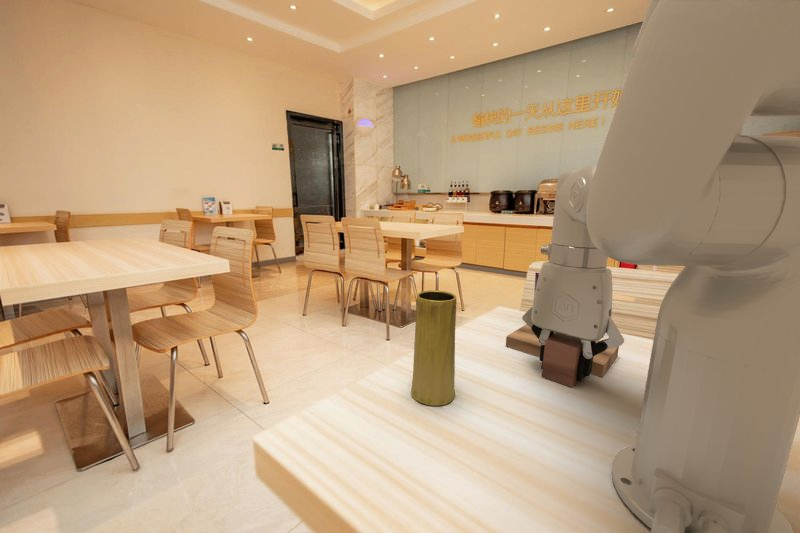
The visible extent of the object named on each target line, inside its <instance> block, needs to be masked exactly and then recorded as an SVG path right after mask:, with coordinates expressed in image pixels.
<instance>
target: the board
mask: <svg viewBox="0 0 800 533" xmlns="http://www.w3.org/2000/svg"><path fill="white" fill-rule="evenodd" d="M555 333H556V332H555ZM599 341H600V340H598V341H597V342H599ZM506 346H508V347H507V348H509V347H510V348H509V349H512V348H513V349H512V350H515V349H516V351H519V352H521V353H522V352H523V353H525V354H528V355H532V356H535V357H537V358H540V349H541V344H540V343H539V342H538V338H537V336H536V335H535V334H534V332H533V331H532V329H531V327H529V326H528V325H527V324H526V323H525V324H524V325H523V326H521V327H519V328H517V329H516V330H514V331H513V332H510V334H508V335H506V339H505V347H506ZM619 348H620V346H618V347H615V348H611V349H607V350H605V351H603V352H601V353H599V354H597V355H595V356H594V357H593V364H592V371H591V375H594V376H597V377H600V378H603V377H604V376H605V375H606V373H607V371H608V370H609V369H610V368H611V366H612V364H613V363H614V362H615V360H616V359H617V358H618V357H619V356H618V354H619ZM616 357H617V358H616Z"/></svg>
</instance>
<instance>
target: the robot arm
mask: <svg viewBox="0 0 800 533" xmlns="http://www.w3.org/2000/svg"><path fill="white" fill-rule="evenodd" d="M631 53H632V54H631V55H632V60H631V65H630V67H629V70H628V72H627V75H626V78H625V81H624V84H623V86H622V87H623V88H622V91H621V93H620V96H619V99H618V101H617V102H618V103H617V104H616V108H615V111H614V114H613V117H612V120H611V121H610V122H611V123H610V125H609V128H608V131H607V134H606V138H605V141H604V143H603V146H602V150H600V151H601V152H600V154H599V157H598V160H597V163H592V164H589V165H586V166H584V167H582V168H571V169H567V170H564V171H562V172H561V173H560V175H559V176H558V179H557V182H556V183H557V184H556V192H555V200H554V201H555V202H554V210H553V218H552V219H553V220H552V221H553V222H552V228H551V229H552V230H551V242H549V244H547V245H545V244H542V245H541V247H540V254H541V255H542V254H543V255H546V256H547V260H548V261H546V262H542V266H541V268H540V272H539V273H540V274H539V277H538V281H537V286H536V290H535V289H534V291H535V295H534V296H533V301H532V306H531V308H530V309H528V310H527V311H526V312H525V313H524V314H523V315H522V317H521V319H522V321H523V322H524V323H525V325H526V324H527V325H528V326H529V327H531V329H532V331H533V332H534V334H535V335H536V336H537V338H538V342H539V343H540V344H541V349H540V357H539V361H540V362H541V370H542V367H543V357H544V348H545V340H546V339H547V338H549V337H550V336H551V335H553V334H554V333H555V332H556V333H560V334H564V335H567V336H571V337H575V338H578V339H581V342H582V349H583V352H582V355H581V356H580V357H579V362H578V370H577V378H576V380H577V381H578V382H577V383H583V381H584V380H585V378H586V377H587V378H590V376H591V375H592V374H591V371H592V364H593V357H594V356H595V355H597V354H599V353H601V352H603V351H605V350H607V349H611V348H615V347H618V346H619V347H620V346H622V345H623V344H624V342H625V338H624V337H623V335H622V334H621V332H620V330H619V328H618V327H617V325H616V324H615V322H614V320H613V319H612V313H613V274H612V270H611V269H610V268H608V267H607V266H608V258H609V259H612V260H614V261H617V262H619V263H624V264H629V265H638V266H656V267H657V266H658V267H660V266H661V267H665V266H666V267H683V268H682V269H681V271H680V272H679V274H677V276H676V277H675V279H674V280H673V281H672V283H671V284H670V286H669V288H668V289H667V290H666V293H665V295H664V297H663V299H662V301H661V304H660V306H659V310H658V313H657V318H656V323H655V328H654V334H653V340H652V341H653V342H652V346H651V353H650V359H649V366H648V371H647V376H646V377H647V378H646V380H645V381H646V383H645V388H644V395H643V400H642V406H641V412H640V418H639V422H638V430H637V436H636V440H635V445H632V446H627V447H626V448H624V449H622V450H620V451H619V452H618V453H617V454H616V455H615V457H614V459H613V461H612V467H611V477H612V478H611V480H612V483H613V484H614V485H613V486H614V487H615V490H616V493H617V494H618V495H619V497H620V499H621V500H622V501H623V503H624V504H625V505H626V506H627V507H628V509H630V511H631V512H632V513H633V514H634V515H635V516H636V517H637V518H638V519H639V520H641V521H642V522H643V524H644V525H646V526H647V527H648V528H650V533H795V530H794V528H793V527H792V525H791V524H790V522H789V520H788V519H787V518H786V516H785V515H784V513H782V511H781V510H779V508H778V507H777V501H778V498H779V495H780V491H781V488H782V482H783V479H784V475H785V472H786V470H787V469H786V468H787V465H788V461H789V457H790V453H791V449H792V446H793V443H794V438H795V435H796V432H797V427H798V424H799V420H800V136H790V135H753V134H750V135H749V134H743V128H744V125H745V124H746V122H747V121H748V119H749V118H750V117H760V118H763V117H767V118H768V117H769V118H800V0H650V2H649V4H648V7H647V10H646V12H645V15H644V19H643V21H642V24H641V27H640V29H639V31H638V35H637V36H636V40H635V42H634V45H633V47H632V52H631ZM605 334H607V336H608V338H606V339H603V338H604V336H605ZM601 339H602V340H601ZM598 340H599V342H597V341H598Z"/></svg>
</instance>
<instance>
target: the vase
mask: <svg viewBox="0 0 800 533" xmlns="http://www.w3.org/2000/svg"><path fill="white" fill-rule="evenodd" d="M415 299H416V302H415V306H416V307H415V329H414V343H413V345H414V347H413V350H414V351H413V367H412V368H413V370H412V381H411V387H410V393H411V397H412V398H413V399H414V400H415V401H417V402H419V403H420V404H422V405H426V406H430V407H431V406H433V407H434V406H437V407H440V406H444V405H447V404H450V403H451V402H452V401H454V399H455V397H456V390H455V379H456V378H455V376H456V375H455V374H456V373H455V371H456V370H455V368H456V367H455V364H456V362H455V360H456V359H455V358H456V349H455V348H456V323H457V322H456V321H457V320H456V319H457V295H456V294H454V293H451V292H449V291H445V290H436V289H434V290H431V289H430V290H424V291H421V292H418V293H417V294H416V298H415Z"/></svg>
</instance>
